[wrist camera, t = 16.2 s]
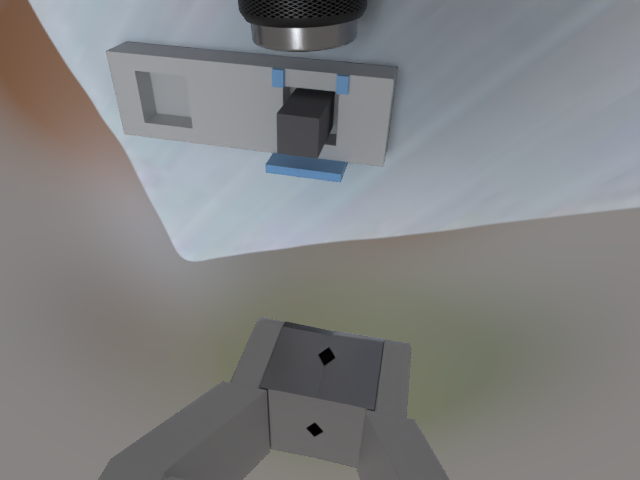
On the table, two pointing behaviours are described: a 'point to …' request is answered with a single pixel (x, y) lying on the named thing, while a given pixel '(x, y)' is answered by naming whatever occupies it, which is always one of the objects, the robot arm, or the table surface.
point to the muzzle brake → (302, 23)
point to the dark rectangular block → (305, 122)
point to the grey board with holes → (251, 102)
